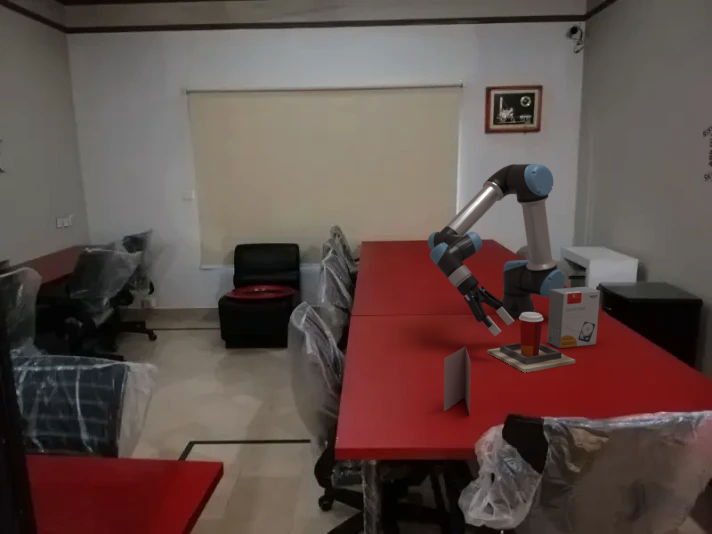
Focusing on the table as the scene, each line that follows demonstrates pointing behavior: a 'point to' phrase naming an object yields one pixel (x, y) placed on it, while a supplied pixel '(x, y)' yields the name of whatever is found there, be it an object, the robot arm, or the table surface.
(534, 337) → the paper cup
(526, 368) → the seat plate
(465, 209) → the robot arm
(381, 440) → the table surface
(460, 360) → the greeting card
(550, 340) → the hard drive box
